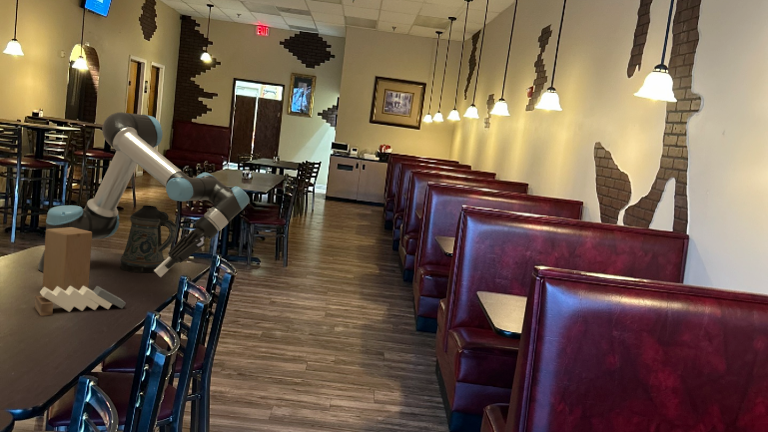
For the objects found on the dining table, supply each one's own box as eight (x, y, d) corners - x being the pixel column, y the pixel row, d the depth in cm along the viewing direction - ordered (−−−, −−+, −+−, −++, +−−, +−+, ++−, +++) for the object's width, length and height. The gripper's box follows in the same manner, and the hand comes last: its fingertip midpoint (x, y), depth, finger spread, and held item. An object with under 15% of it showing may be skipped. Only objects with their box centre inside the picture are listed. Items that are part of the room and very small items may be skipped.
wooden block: (88, 290, 216) (92, 231, 214) (62, 295, 207) (66, 234, 205) (68, 284, 221) (71, 226, 218) (41, 289, 211) (45, 228, 209)
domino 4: (107, 299, 203) (83, 285, 197) (112, 304, 199) (87, 289, 194) (103, 305, 202) (78, 290, 197) (108, 309, 198) (83, 295, 193)
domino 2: (82, 301, 198) (57, 285, 193) (86, 305, 194) (60, 290, 189) (78, 306, 198) (52, 291, 192) (82, 311, 194) (56, 295, 189)
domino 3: (94, 300, 200) (69, 285, 195) (99, 304, 196) (73, 289, 191) (90, 305, 200) (65, 290, 195) (94, 310, 196) (69, 295, 191)
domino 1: (70, 301, 196) (44, 286, 191) (74, 306, 192) (47, 290, 187) (65, 307, 195) (39, 292, 190) (69, 311, 191) (42, 296, 186)
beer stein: (119, 263, 260) (123, 201, 257) (169, 264, 268) (174, 205, 265) (120, 272, 245) (125, 207, 242) (174, 273, 253) (179, 210, 250)
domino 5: (121, 298, 205) (96, 285, 200) (126, 303, 201) (101, 289, 196) (117, 304, 205) (92, 291, 199) (122, 308, 201) (97, 295, 196)
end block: (45, 306, 194) (46, 295, 193) (52, 315, 187) (53, 303, 186) (34, 307, 192) (35, 295, 192) (40, 315, 185) (41, 303, 185)
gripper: (196, 212, 220) (142, 261, 212) (211, 219, 210) (156, 270, 201) (209, 228, 224) (157, 276, 215) (225, 235, 214) (171, 286, 205)
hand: (157, 273), depth 209 cm, fingers closed
